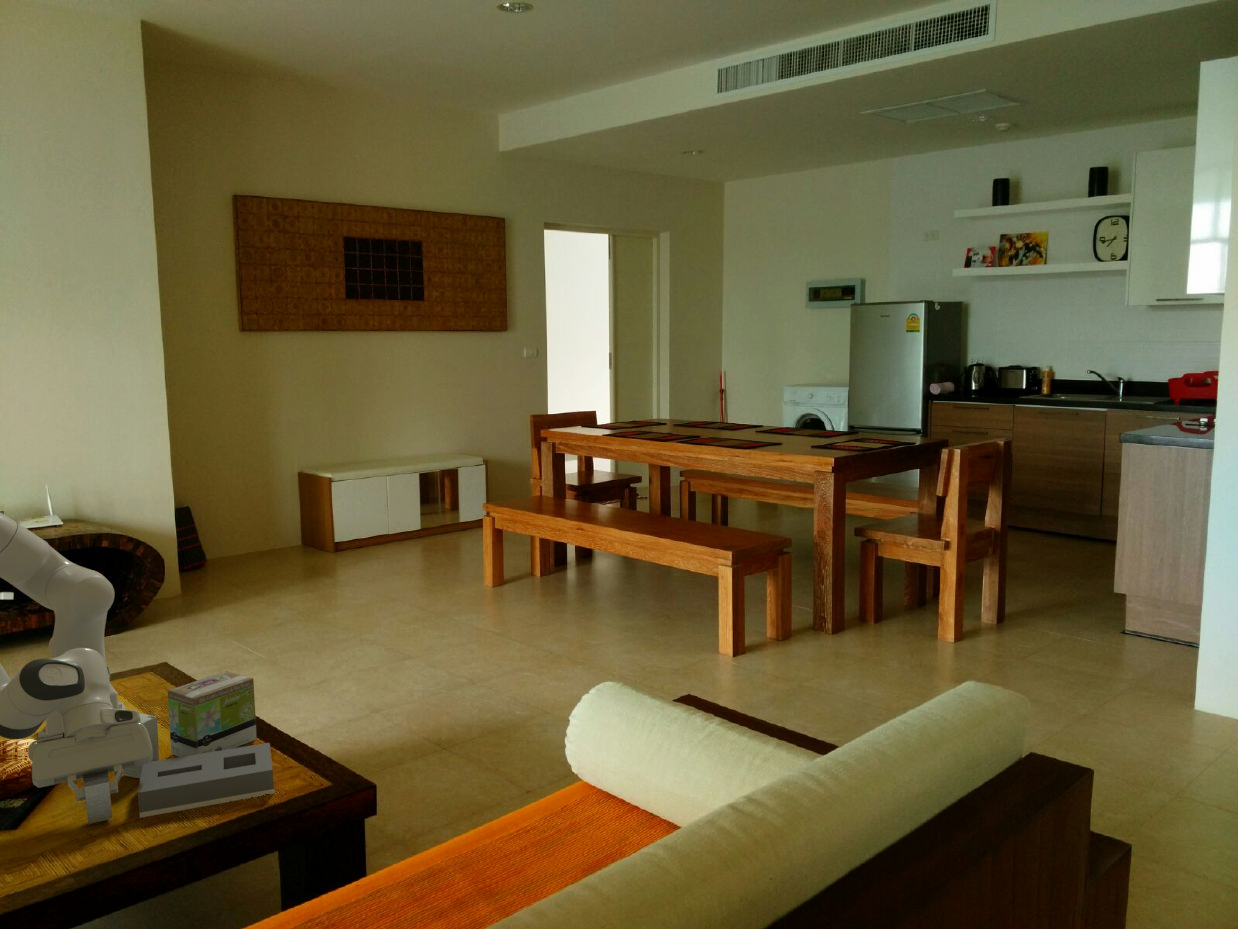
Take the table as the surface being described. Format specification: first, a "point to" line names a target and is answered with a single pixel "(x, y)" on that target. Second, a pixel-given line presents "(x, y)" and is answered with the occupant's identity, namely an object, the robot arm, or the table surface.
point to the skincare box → (152, 730)
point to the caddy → (205, 779)
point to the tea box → (212, 714)
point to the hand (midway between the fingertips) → (97, 795)
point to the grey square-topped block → (97, 796)
